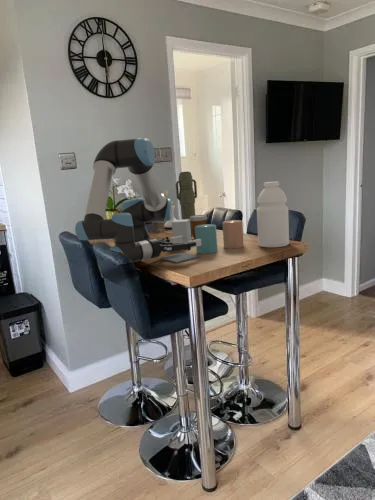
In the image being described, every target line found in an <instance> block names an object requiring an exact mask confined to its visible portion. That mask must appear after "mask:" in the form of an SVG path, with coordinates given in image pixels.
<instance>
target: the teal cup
mask: <svg viewBox="0 0 375 500" xmlns="http://www.w3.org/2000/svg"><path fill="white" fill-rule="evenodd" d="M195 236H196V239H195V240H197V239H201V246H196V247H195V248H196V253H197V254H201V255H202V254H203V255H206V254H212V253H217V252H218V237H217V236H218V234H217V225H216V224H214V223H213V224H212V223H211V224H210V223H209V224H207V223H206V225H198V226H195Z"/></svg>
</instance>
